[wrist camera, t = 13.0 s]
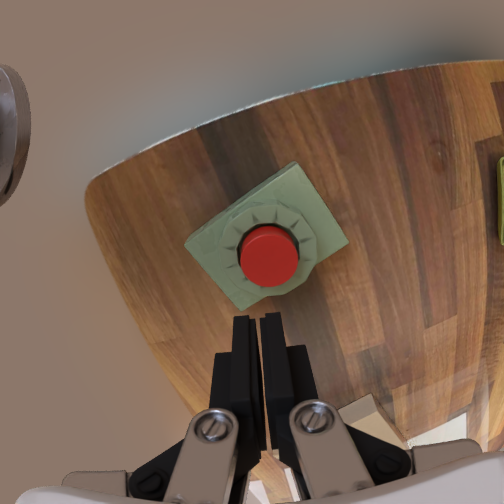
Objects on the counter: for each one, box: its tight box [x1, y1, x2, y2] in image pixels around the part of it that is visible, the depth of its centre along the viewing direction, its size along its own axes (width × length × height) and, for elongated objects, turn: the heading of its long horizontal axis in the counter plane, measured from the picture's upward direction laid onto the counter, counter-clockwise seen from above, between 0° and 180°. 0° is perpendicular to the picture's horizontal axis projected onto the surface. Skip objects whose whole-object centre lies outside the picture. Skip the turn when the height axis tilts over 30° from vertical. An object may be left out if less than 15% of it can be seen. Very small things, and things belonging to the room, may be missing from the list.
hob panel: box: [273, 393, 410, 460], centre depth 34 cm, size 14×20×3 cm
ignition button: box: [240, 226, 298, 287], centre depth 20 cm, size 4×4×2 cm
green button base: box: [184, 161, 349, 311], centre depth 22 cm, size 10×7×4 cm
